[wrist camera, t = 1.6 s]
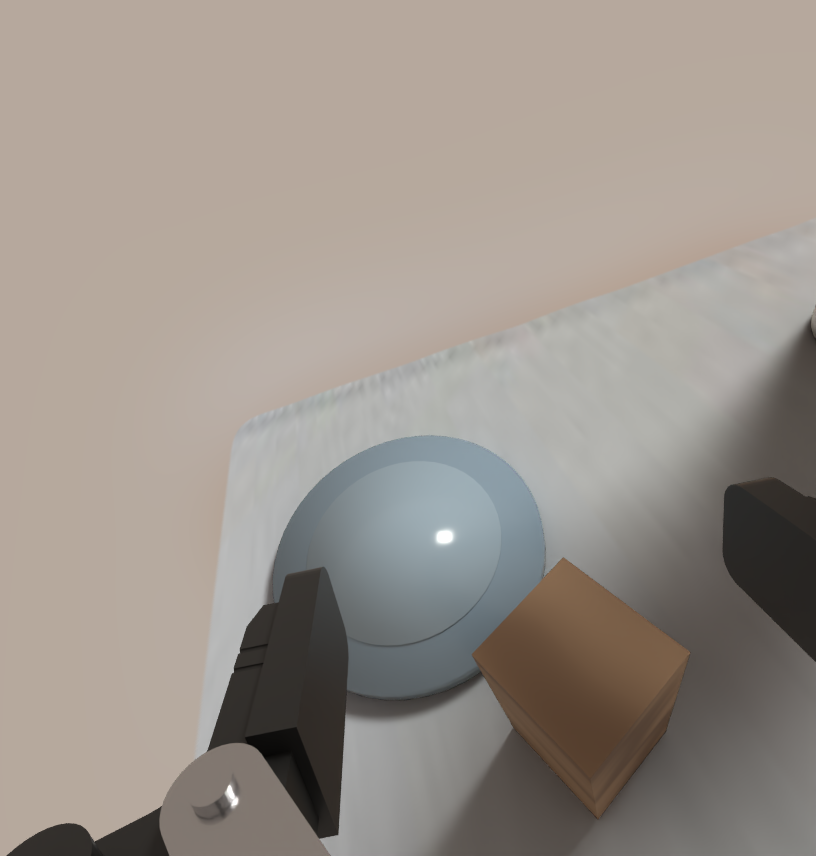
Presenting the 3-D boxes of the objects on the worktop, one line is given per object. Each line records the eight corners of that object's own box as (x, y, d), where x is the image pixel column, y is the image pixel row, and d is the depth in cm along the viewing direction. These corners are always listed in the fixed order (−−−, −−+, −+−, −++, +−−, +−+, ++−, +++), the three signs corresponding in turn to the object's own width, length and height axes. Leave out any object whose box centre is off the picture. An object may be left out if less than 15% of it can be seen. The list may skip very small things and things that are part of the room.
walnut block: (577, 654, 28) (563, 557, 20) (665, 731, 25) (690, 652, 17) (513, 727, 26) (471, 654, 19) (598, 819, 23) (590, 778, 15)
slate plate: (484, 413, 41) (481, 401, 40) (602, 629, 28) (601, 619, 27) (272, 498, 41) (263, 489, 40) (294, 749, 29) (283, 744, 28)
